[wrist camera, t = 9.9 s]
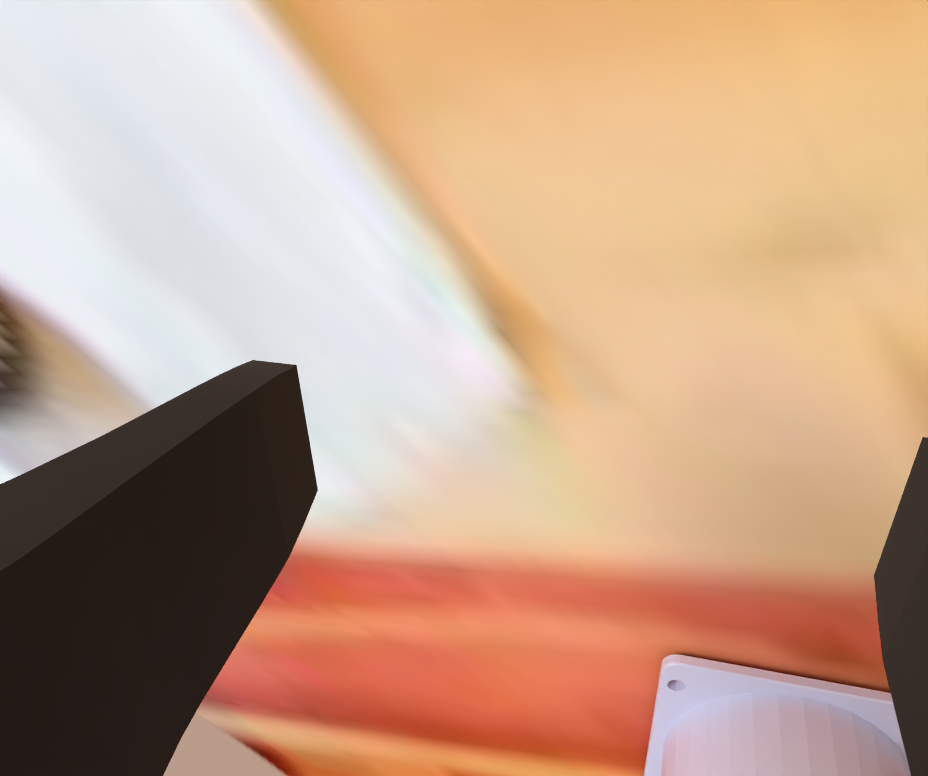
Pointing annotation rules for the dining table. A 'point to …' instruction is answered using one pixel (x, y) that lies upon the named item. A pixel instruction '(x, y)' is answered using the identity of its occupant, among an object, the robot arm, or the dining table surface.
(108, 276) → the dining table surface
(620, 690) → the dining table surface
